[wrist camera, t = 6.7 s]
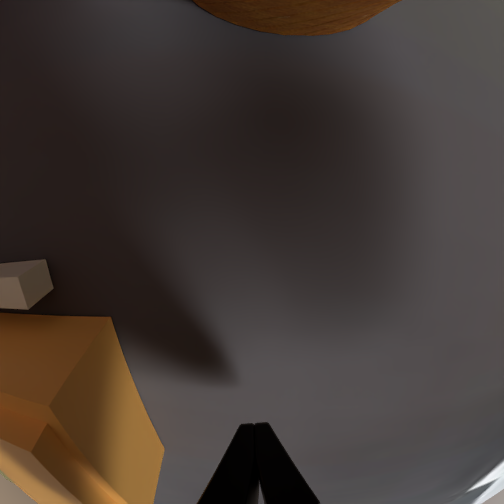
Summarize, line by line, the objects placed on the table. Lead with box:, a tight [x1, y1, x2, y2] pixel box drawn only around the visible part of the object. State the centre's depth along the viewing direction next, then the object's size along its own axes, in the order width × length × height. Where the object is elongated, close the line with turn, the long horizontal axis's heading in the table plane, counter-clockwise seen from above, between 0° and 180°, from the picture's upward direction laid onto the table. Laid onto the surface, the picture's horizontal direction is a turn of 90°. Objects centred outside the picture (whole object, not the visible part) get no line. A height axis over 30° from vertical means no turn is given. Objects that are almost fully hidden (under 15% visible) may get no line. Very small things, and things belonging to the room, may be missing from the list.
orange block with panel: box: [0, 312, 164, 504], centre depth 7 cm, size 7×8×5 cm
